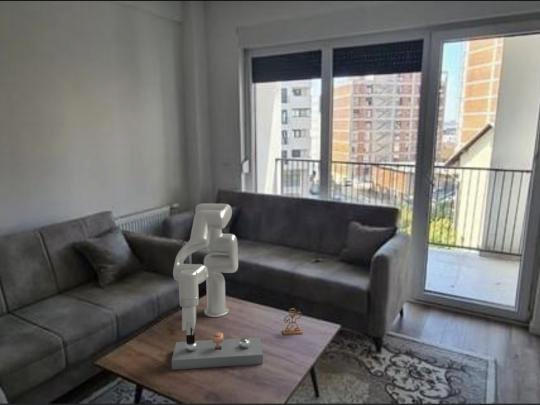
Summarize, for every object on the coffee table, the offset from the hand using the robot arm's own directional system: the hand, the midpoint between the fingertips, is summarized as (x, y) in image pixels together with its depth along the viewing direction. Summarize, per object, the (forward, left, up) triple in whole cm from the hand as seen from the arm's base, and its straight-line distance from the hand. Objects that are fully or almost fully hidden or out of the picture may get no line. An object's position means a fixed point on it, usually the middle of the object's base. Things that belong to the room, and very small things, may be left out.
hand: (190, 342), depth 161 cm
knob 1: (0, 0, -6) cm, 6 cm away
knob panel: (0, +11, -7) cm, 13 cm away
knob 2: (0, +22, -6) cm, 23 cm away
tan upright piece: (-17, +45, -8) cm, 49 cm away
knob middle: (0, +11, -3) cm, 11 cm away
